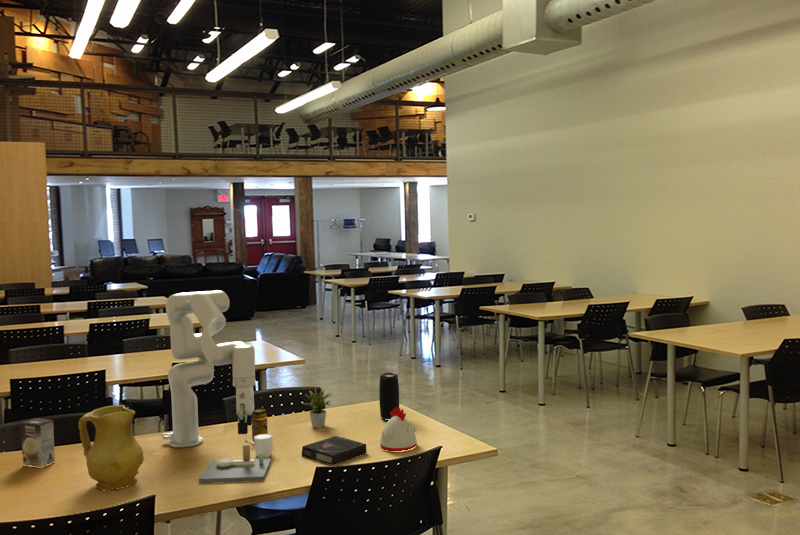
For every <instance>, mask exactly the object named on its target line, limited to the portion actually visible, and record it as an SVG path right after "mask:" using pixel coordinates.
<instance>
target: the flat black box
mask: <svg viewBox="0 0 800 535" xmlns="http://www.w3.org/2000/svg"><path fill="white" fill-rule="evenodd" d="M365 453H366V454H367V443H363V442H360V441H357V440H353V439H349V438H346V437H341V436H340V435H339V436H338V435H335V436H331V437H328V438H326V439H321V440H319V441H315V442H312V443H309V444H306V445H302V449H301V455H302V457H304V456H305V457H304V458H307V457H308V459H310V458H311V460H313V459H314V461H316V460H318V461H317V462H319V461H320V463H322V462H323V463H324V464H325V465H329V466H332V465H333V466H336V465H337V464H338V463H339V464H341V463H343V462H346V460H347V461H349V459H350V460H352V458H353V459H355V457H356V458H358V457H361V456H364V455H366V454H365ZM363 454H364V455H363ZM360 455H361V456H360ZM357 456H358V457H357ZM323 463H322V464H323Z"/></svg>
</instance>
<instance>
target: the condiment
mask: <svg viewBox="0 0 800 535" xmlns="http://www.w3.org/2000/svg"><path fill="white" fill-rule="evenodd" d="M251 418H252V424H251V437H252V439H253V441H254V436H256V435H259V434H269V433H268V430H269V429H268V416H267V410H266V409H264V408H257V409H254V410H253V412H252V414H251Z"/></svg>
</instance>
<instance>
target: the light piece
mask: <svg viewBox="0 0 800 535" xmlns="http://www.w3.org/2000/svg"><path fill="white" fill-rule="evenodd" d="M254 459H255V458H251V445H250V444H249V443H247V444H243V445H242V459H233V458H229V457H228V458H221V459H218V461H217V460H216V461H217V462H216V463H217V467H229V466H232V465H247V464H254Z"/></svg>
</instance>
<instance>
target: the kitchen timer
mask: <svg viewBox="0 0 800 535" xmlns="http://www.w3.org/2000/svg"><path fill="white" fill-rule="evenodd" d="M390 414H391V417H392V418H391V419H390V420H389V421H386V423H385V424H384V427H383V429H382V430H381V436H380V441H379V442H380V443H379V444H380V447H381V448H382V449H384V450H388V451H402V450H408V449H411V448H413V447H415V446H416V445H417V446H418V442H417V436H416V429H415V426H413V425H412V424H411V423H410V421H409V420H408V419H407V418H406V415H407V413H405V411H404V408H402V409H401V408H400V407H399V408H398V407H395V409H393V412H390ZM381 448H380V449H381ZM382 449H381V450H382ZM384 450H383V451H384Z"/></svg>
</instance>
